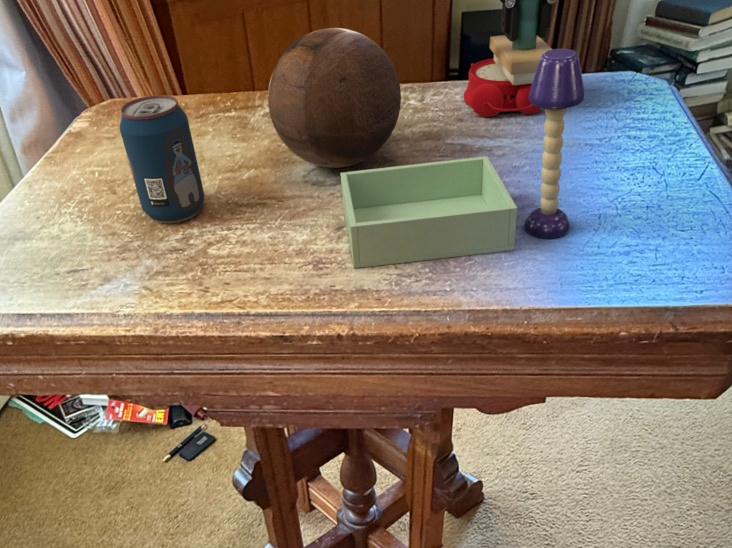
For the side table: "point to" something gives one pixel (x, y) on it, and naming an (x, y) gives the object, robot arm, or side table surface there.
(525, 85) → the alarm clock
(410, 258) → the tub
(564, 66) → the toy lamp
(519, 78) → the brush
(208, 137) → the side table surface
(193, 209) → the soda can
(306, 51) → the wooden sphere
